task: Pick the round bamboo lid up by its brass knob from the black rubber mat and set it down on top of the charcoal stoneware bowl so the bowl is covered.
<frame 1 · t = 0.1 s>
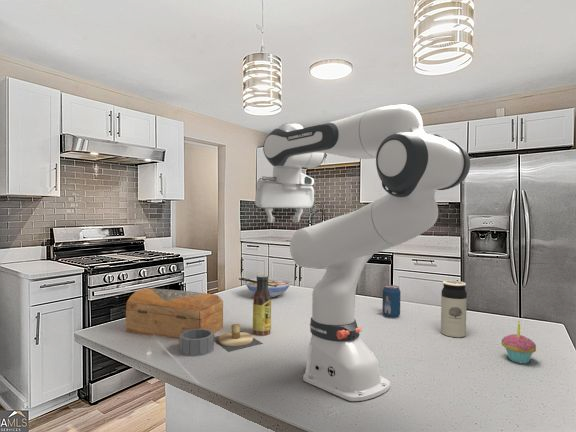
hand: (283, 222, 116), 39 cm above the counter, tool pointing down, fingers open, 8 cm apart
soda can: (391, 316, 150), on the counter
wooden box: (176, 331, 131), on the counter
cupcake: (518, 360, 108), on the counter
lid: (235, 340, 120), resting on mat
travel mug: (453, 334, 129), on the counter
ramen bowl: (267, 296, 181), on the counter
bowl: (197, 350, 112), on the counter
mat: (235, 341, 120), on the counter
sauce bottle: (261, 334, 128), on the counter
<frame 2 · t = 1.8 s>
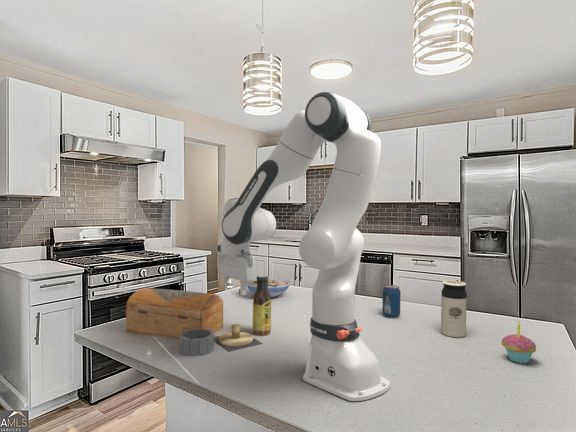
hand: (235, 291, 120), 16 cm above the counter, tool pointing down, fingers open, 8 cm apart
nothing on the counter moved.
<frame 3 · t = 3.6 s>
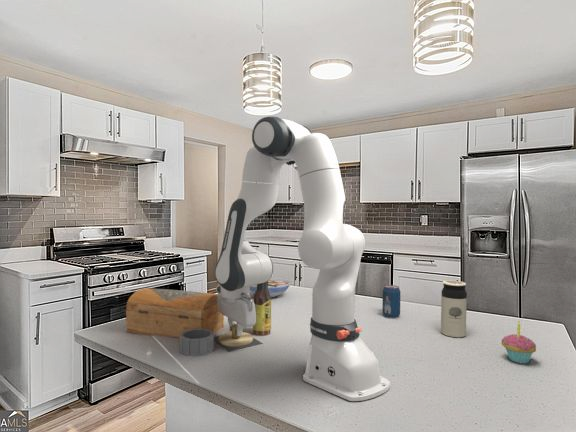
hand: (235, 333, 120), 3 cm above the counter, tool pointing down, fingers closed on lid, 3 cm apart
lid: (235, 340, 120), resting on mat, touching gripper
everything else where it was.
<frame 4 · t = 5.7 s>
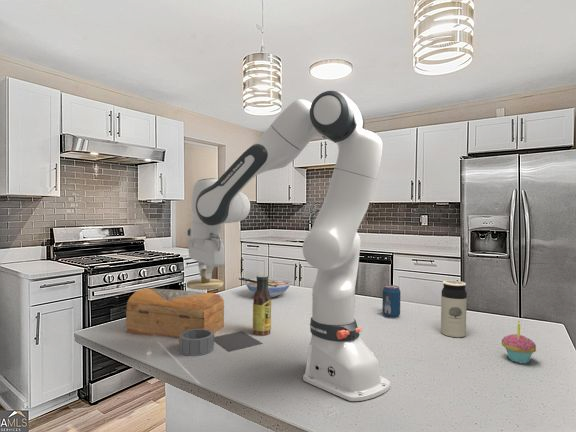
hand: (205, 277, 114), 22 cm above the counter, tool pointing down, fingers closed on lid, 3 cm apart
lid: (205, 285, 114), point 19 cm above the counter, touching gripper
everything else where it was.
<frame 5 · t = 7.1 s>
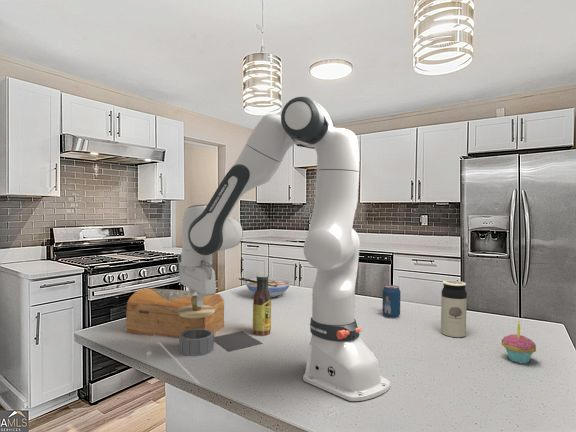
hand: (196, 304, 112), 14 cm above the counter, tool pointing down, fingers closed on lid, 3 cm apart
lid: (196, 312, 112), point 11 cm above the counter, touching gripper
everything else where it was.
when the fingers open (8 cm above the counter, at t = 8.1 s): lid stays where it is, resting on bowl.
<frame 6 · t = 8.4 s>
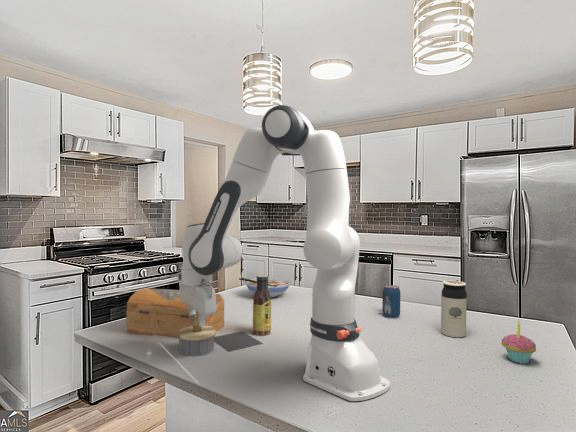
hand: (197, 322, 112), 8 cm above the counter, tool pointing down, fingers open, 5 cm apart
lid: (197, 334, 112), point 5 cm above the counter, touching bowl
everything else where it was.
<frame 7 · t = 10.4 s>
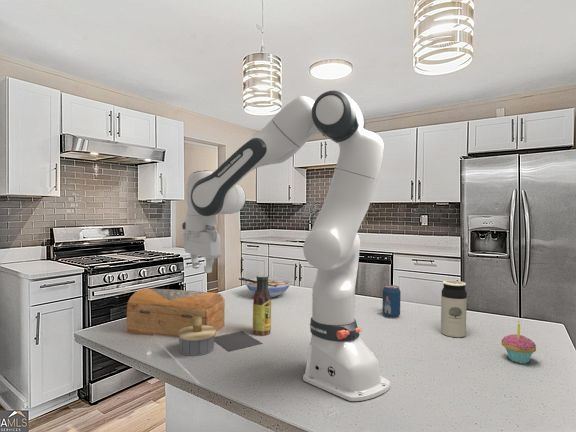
hand: (201, 270, 113), 24 cm above the counter, tool pointing down, fingers open, 8 cm apart
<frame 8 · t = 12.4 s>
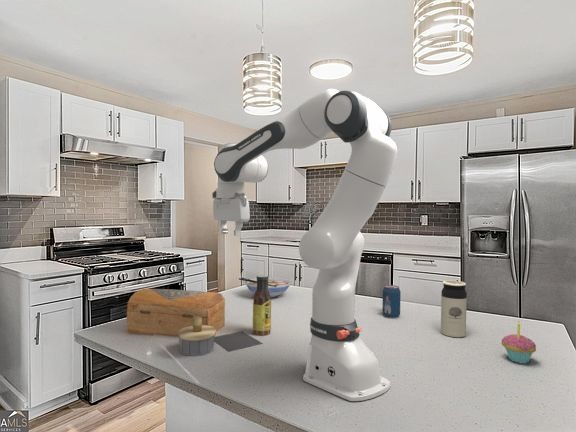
hand: (230, 234, 125), 34 cm above the counter, tool pointing down, fingers open, 8 cm apart
at the end: lid 0.1 cm off-centre on the bowl, point 5.0 cm above the bowl's base; lid tilted 0°; the gripper is holding nothing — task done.
